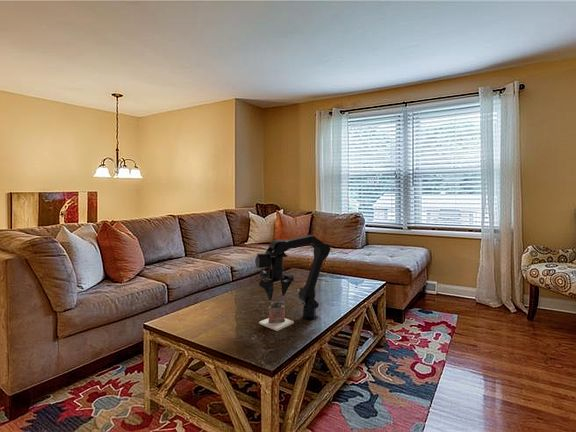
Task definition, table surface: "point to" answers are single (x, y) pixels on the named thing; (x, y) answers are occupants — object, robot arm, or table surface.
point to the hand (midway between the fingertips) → (276, 297)
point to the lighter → (276, 312)
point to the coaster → (276, 324)
